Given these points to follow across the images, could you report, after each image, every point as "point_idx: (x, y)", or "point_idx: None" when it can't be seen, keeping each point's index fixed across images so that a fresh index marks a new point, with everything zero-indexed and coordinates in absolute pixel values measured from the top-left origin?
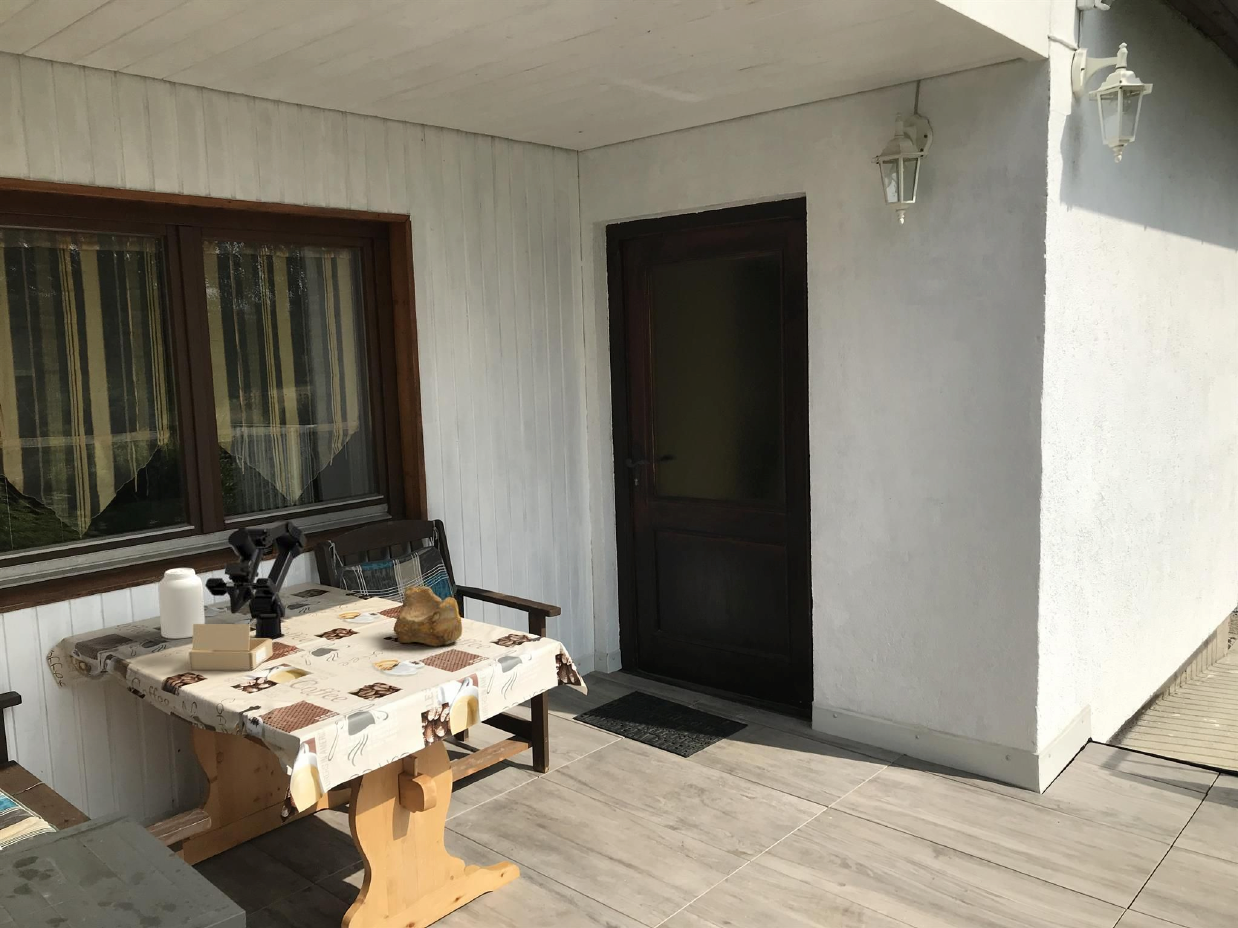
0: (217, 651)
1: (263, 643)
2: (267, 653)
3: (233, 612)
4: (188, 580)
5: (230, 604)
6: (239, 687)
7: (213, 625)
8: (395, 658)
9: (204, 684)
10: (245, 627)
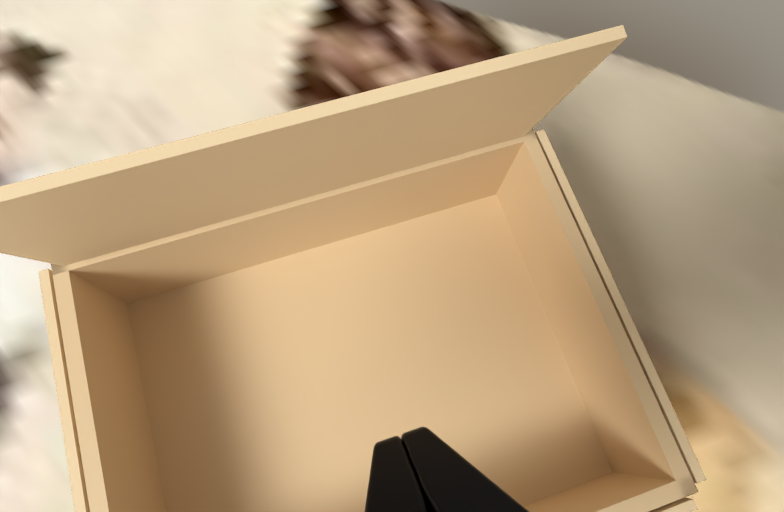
0: (598, 481)
1: None
2: None
3: (383, 443)
4: None
5: (522, 506)
6: (3, 51)
7: (385, 92)
8: None
9: (230, 33)
10: None
